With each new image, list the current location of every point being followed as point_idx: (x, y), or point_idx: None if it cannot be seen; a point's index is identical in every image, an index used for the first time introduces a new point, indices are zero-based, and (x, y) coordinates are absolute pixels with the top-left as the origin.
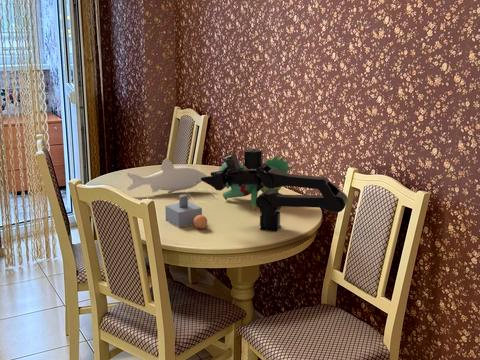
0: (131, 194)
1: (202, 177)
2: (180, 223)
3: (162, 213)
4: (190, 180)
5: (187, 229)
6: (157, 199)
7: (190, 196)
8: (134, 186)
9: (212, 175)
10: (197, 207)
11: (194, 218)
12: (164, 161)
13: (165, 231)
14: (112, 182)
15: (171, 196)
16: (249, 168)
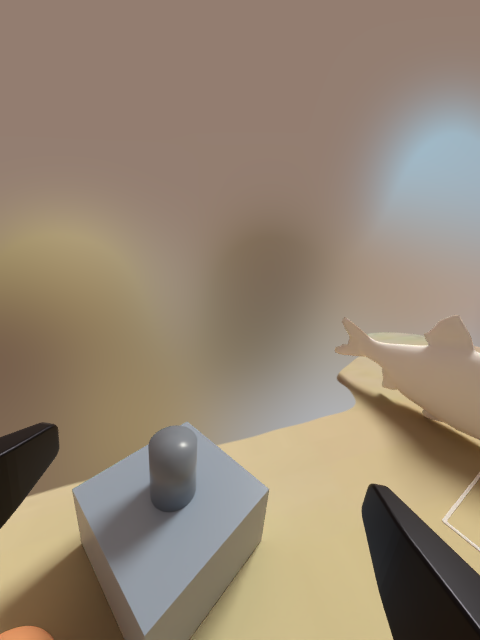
0: (348, 365)
1: (18, 431)
2: (83, 538)
3: (252, 440)
4: None
5: (27, 610)
6: (358, 405)
7: (474, 479)
8: (348, 350)
9: (371, 539)
10: (158, 585)
11: (14, 628)
12: (444, 322)
13: (45, 497)
14: (381, 340)
15: (411, 427)
16: None
